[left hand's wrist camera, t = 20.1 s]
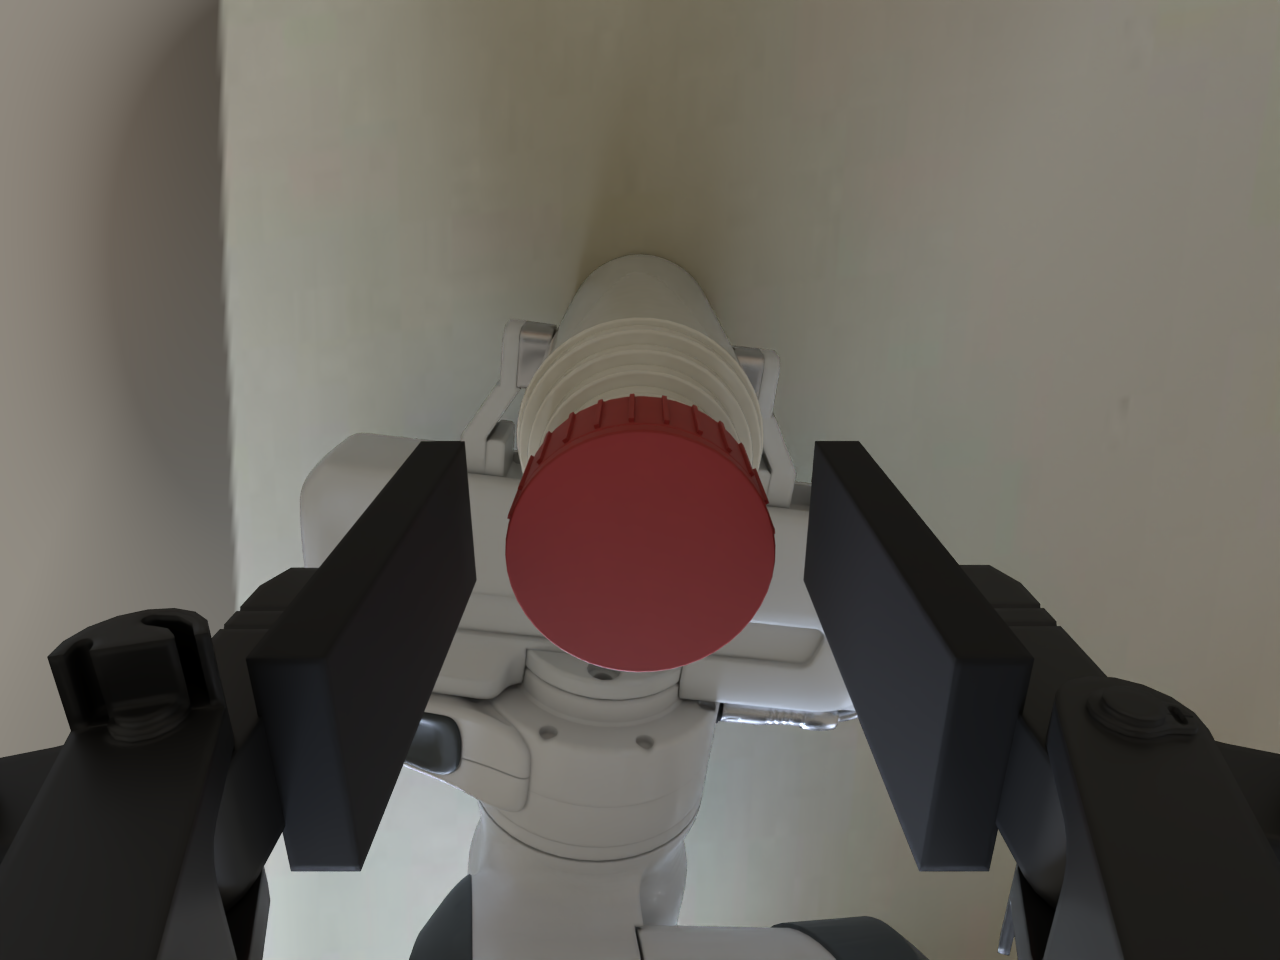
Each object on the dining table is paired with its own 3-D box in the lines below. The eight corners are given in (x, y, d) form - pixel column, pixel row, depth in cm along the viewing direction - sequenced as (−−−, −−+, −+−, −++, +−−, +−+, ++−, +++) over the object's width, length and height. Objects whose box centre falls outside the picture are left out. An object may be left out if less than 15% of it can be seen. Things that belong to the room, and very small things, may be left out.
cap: (669, 340, 13) (673, 368, 11) (807, 533, 14) (832, 586, 13) (469, 483, 14) (443, 531, 12) (615, 653, 15) (613, 718, 14)
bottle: (539, 307, 30) (401, 494, 13) (662, 224, 29) (695, 304, 12) (619, 424, 32) (595, 730, 14) (738, 349, 31) (868, 584, 13)
